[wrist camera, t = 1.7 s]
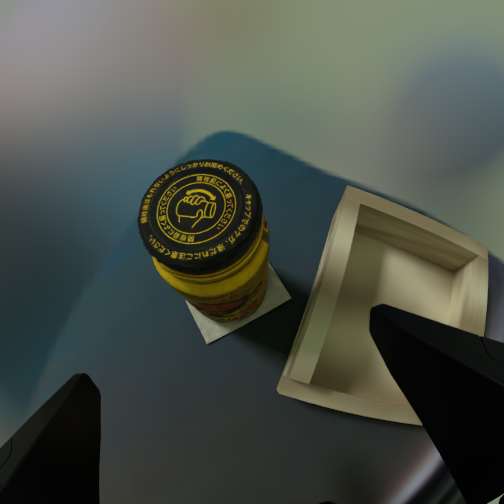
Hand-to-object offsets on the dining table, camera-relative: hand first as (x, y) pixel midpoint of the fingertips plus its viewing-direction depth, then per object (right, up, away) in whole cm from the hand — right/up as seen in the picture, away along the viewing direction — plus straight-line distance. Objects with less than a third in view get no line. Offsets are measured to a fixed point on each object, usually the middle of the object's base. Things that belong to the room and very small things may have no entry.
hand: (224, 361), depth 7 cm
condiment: (-1, +1, +15) cm, 15 cm away
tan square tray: (+12, -3, +13) cm, 18 cm away
